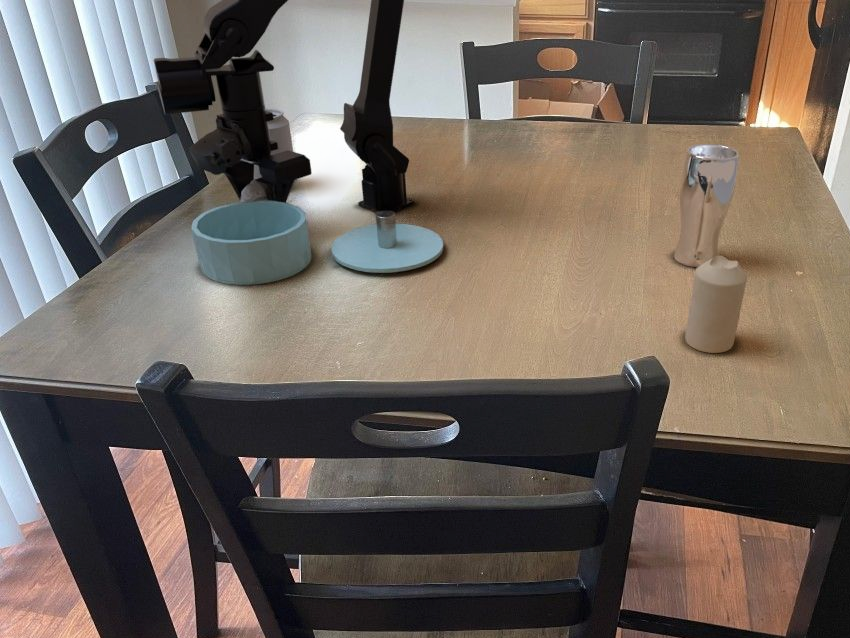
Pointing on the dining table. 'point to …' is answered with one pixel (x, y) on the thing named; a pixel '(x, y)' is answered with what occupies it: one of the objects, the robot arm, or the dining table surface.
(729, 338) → the candle
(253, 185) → the grey carved lump
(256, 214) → the pot
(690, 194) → the beer glass
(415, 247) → the lid
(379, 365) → the dining table surface
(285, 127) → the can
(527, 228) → the dining table surface
